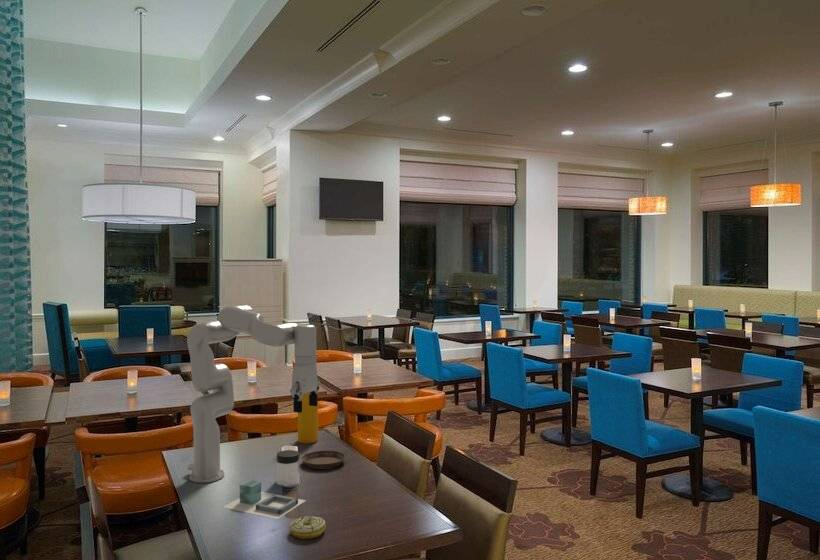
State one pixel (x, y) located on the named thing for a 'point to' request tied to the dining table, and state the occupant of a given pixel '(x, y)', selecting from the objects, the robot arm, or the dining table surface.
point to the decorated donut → (307, 527)
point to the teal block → (250, 492)
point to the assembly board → (267, 505)
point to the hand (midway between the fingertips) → (305, 408)
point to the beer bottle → (308, 421)
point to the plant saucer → (323, 459)
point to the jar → (287, 467)
